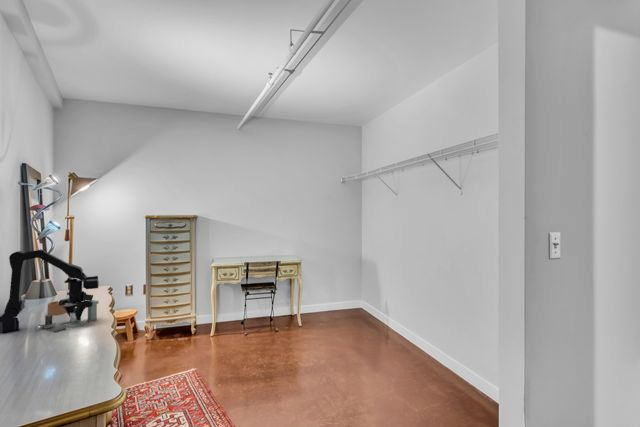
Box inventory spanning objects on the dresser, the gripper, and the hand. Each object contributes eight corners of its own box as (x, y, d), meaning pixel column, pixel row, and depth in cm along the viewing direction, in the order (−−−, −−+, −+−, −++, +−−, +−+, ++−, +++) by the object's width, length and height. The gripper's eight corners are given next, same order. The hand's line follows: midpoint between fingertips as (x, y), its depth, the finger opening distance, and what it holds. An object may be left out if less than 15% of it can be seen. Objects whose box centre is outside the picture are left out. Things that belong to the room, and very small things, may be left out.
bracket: (60, 315, 195) (60, 304, 196) (44, 316, 194) (44, 304, 194) (76, 307, 213) (76, 296, 213) (61, 308, 212) (62, 297, 212)
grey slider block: (38, 330, 166) (38, 319, 166) (33, 329, 167) (33, 318, 167) (55, 325, 173) (55, 314, 173) (50, 325, 175) (50, 314, 175)
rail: (55, 333, 166) (55, 328, 166) (38, 329, 171) (38, 325, 171) (66, 329, 171) (66, 325, 171) (49, 326, 176) (49, 322, 176)
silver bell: (73, 323, 176) (73, 312, 176) (67, 322, 178) (67, 311, 178) (83, 320, 181) (83, 309, 181) (77, 319, 183) (77, 308, 183)
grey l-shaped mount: (72, 327, 174) (72, 307, 174) (62, 325, 177) (62, 306, 177) (99, 319, 188) (99, 300, 188) (90, 318, 191) (90, 299, 191)
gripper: (102, 288, 184) (101, 317, 184) (79, 286, 190) (79, 313, 190) (81, 292, 173) (81, 323, 173) (58, 289, 180) (57, 319, 180)
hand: (75, 319), depth 179 cm, fingers closed on silver bell, 5 cm apart
